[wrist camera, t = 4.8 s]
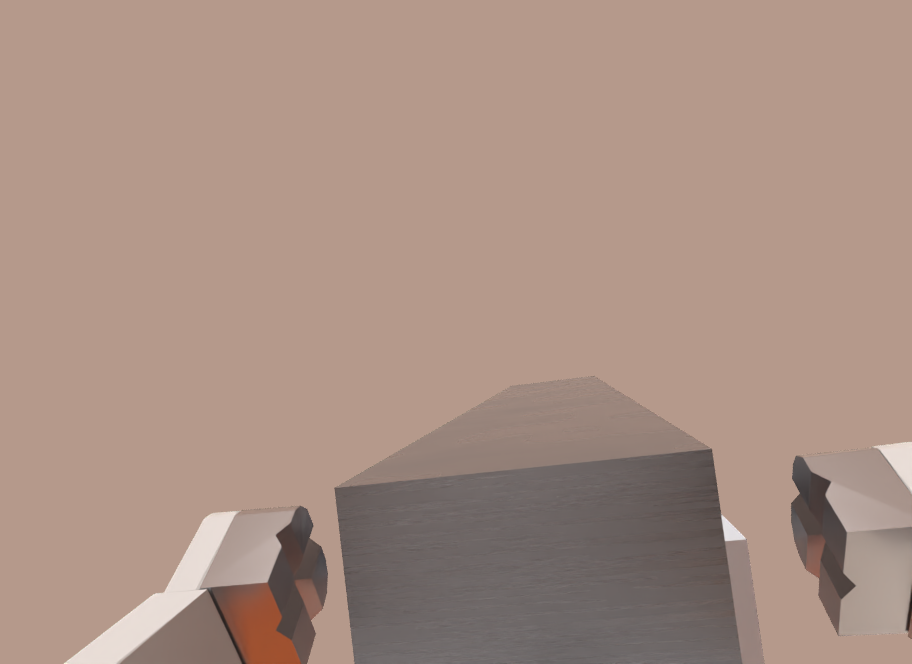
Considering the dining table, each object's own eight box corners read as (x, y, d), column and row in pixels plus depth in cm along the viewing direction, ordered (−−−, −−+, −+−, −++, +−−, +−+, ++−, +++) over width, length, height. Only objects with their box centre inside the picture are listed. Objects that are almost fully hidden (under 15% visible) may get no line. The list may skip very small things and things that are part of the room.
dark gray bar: (377, 864, 7) (333, 487, 7) (521, 468, 30) (511, 386, 31) (768, 854, 6) (711, 448, 6) (605, 459, 30) (594, 376, 30)
